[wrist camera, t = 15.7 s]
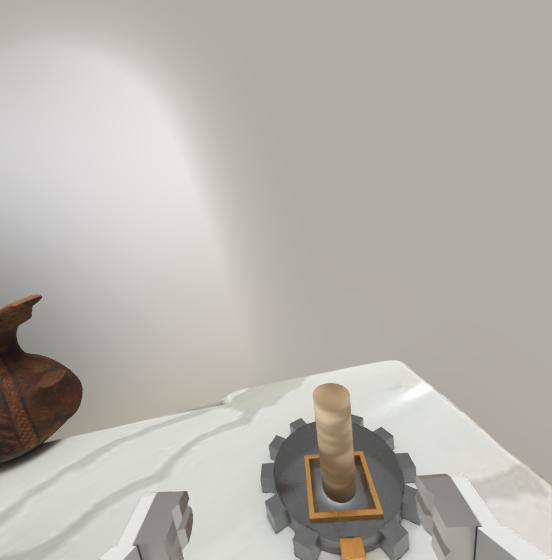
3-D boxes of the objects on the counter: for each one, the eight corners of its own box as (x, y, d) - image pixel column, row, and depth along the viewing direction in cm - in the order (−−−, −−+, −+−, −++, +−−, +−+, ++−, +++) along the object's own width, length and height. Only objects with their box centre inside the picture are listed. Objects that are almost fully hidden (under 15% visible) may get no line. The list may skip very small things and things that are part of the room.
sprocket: (256, 580, 29) (251, 558, 28) (268, 428, 50) (265, 413, 49) (459, 570, 28) (460, 547, 27) (384, 419, 49) (383, 403, 48)
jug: (-65, 516, 41) (-158, 338, 35) (-38, 442, 57) (-98, 311, 51) (97, 431, 55) (53, 293, 49) (83, 391, 71) (48, 283, 65)
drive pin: (325, 504, 34) (314, 408, 31) (320, 471, 38) (311, 384, 35) (360, 502, 33) (353, 404, 30) (351, 469, 38) (345, 381, 35)
